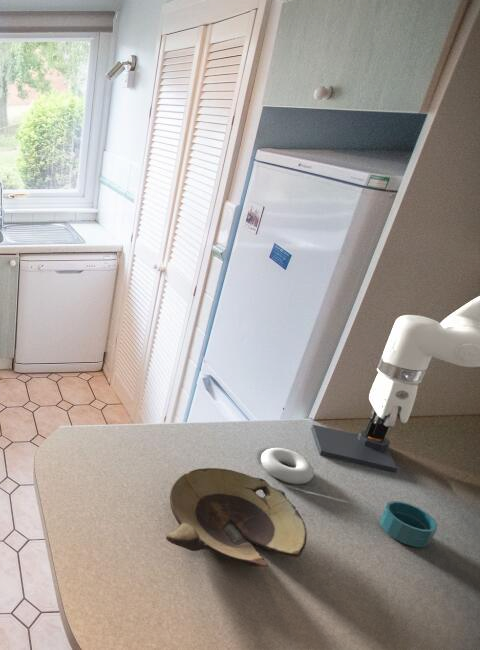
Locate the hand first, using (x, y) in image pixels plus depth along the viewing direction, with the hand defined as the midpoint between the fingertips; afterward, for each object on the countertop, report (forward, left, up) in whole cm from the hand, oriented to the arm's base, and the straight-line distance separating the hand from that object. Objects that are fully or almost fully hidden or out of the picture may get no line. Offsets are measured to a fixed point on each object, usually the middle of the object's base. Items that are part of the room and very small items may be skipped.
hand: (373, 435), depth 108 cm
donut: (+19, +18, -4) cm, 27 cm away
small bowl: (+1, +28, -3) cm, 28 cm away
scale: (+4, +3, -3) cm, 6 cm away
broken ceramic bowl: (+33, +42, -4) cm, 54 cm away
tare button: (0, 0, -2) cm, 2 cm away
